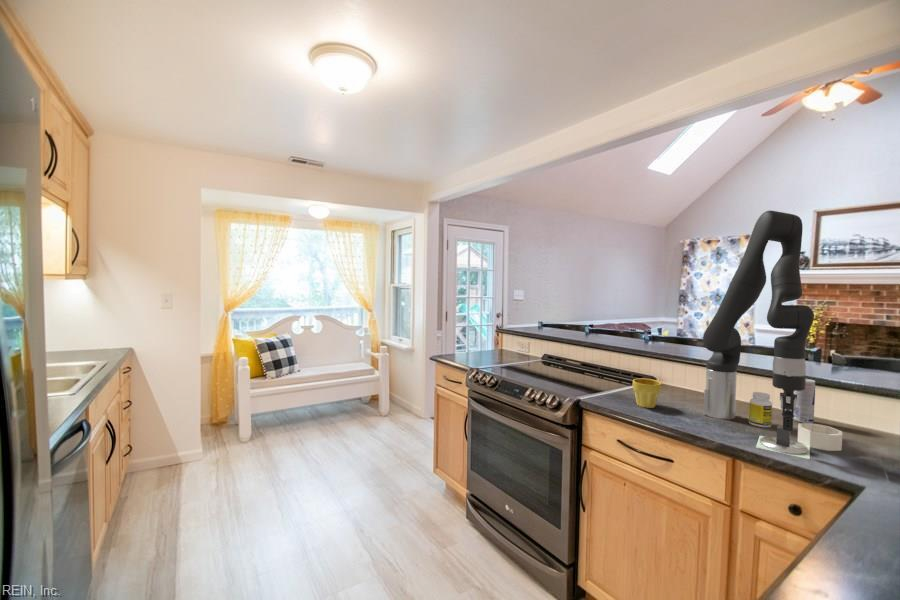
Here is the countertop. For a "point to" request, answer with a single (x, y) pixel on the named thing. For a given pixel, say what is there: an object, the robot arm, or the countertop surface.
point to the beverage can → (805, 403)
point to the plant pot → (646, 392)
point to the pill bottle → (760, 410)
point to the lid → (783, 443)
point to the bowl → (820, 436)
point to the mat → (806, 456)
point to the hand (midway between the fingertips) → (788, 426)
